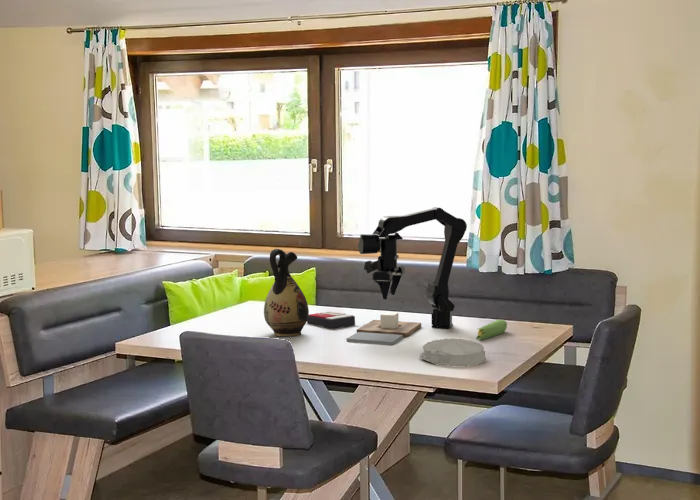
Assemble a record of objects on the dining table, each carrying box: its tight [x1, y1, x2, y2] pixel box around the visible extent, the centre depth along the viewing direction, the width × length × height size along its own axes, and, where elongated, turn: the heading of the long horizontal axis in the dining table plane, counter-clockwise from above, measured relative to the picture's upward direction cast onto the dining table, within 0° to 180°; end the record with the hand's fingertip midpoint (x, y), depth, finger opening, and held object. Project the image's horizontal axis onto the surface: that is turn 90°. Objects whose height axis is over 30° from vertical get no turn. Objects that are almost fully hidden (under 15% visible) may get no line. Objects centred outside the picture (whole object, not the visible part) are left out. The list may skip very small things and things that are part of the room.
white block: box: [379, 311, 399, 329], centre depth 303 cm, size 5×5×6 cm
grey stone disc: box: [419, 337, 487, 367], centre depth 262 cm, size 20×20×7 cm
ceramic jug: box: [263, 248, 310, 337], centre depth 297 cm, size 17×15×30 cm
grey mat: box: [346, 331, 404, 346], centre depth 289 cm, size 16×11×1 cm
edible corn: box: [475, 319, 508, 341], centre depth 293 cm, size 5×20×5 cm
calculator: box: [306, 310, 356, 330], centre depth 316 cm, size 11×4×15 cm
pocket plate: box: [356, 319, 422, 338], centre depth 304 cm, size 18×18×2 cm
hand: (389, 297), depth 302 cm, fingers open, 9 cm apart
